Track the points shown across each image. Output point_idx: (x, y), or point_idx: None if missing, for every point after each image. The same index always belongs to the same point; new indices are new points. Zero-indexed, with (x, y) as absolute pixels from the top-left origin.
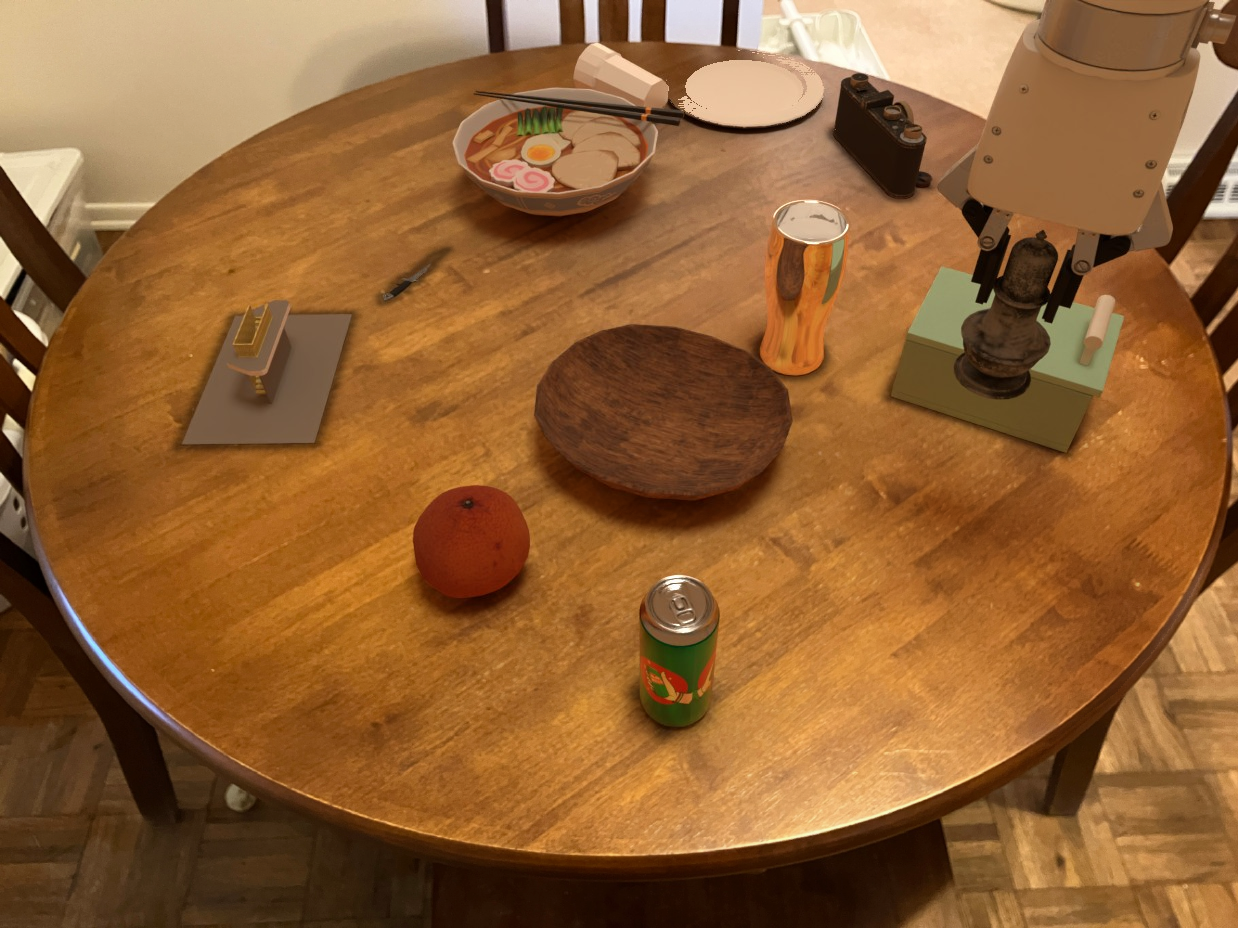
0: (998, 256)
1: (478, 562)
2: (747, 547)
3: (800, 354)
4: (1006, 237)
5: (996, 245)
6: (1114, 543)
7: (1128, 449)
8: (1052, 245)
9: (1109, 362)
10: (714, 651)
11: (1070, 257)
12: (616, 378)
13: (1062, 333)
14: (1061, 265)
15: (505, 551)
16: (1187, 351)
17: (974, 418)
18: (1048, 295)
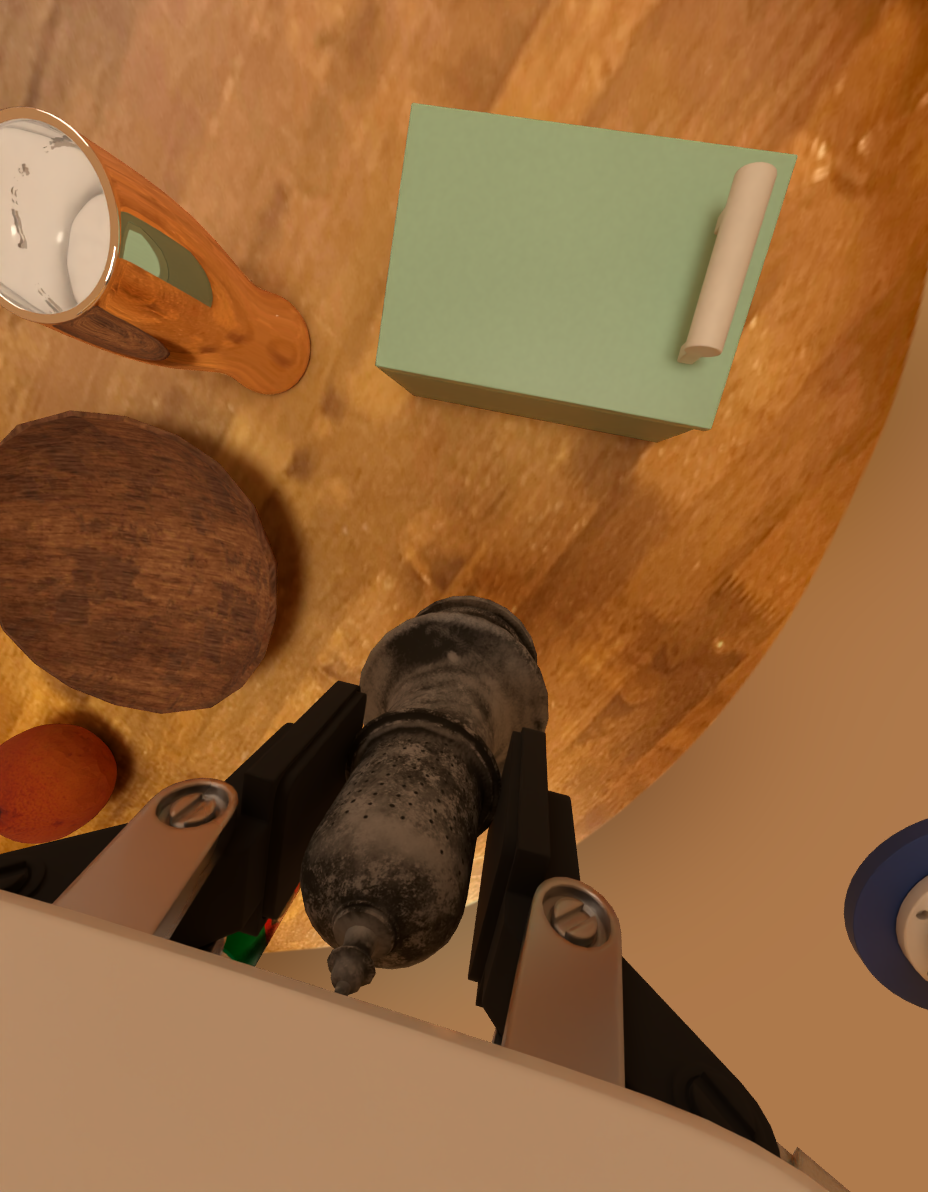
0: (264, 913)
1: (56, 836)
2: (304, 684)
3: (265, 378)
4: (265, 837)
5: (219, 952)
6: (702, 589)
7: (752, 406)
8: (426, 907)
9: (736, 339)
10: (268, 939)
11: (488, 1009)
12: (73, 493)
13: (654, 271)
14: (507, 794)
15: (71, 817)
16: (922, 86)
17: (528, 416)
18: (494, 799)
